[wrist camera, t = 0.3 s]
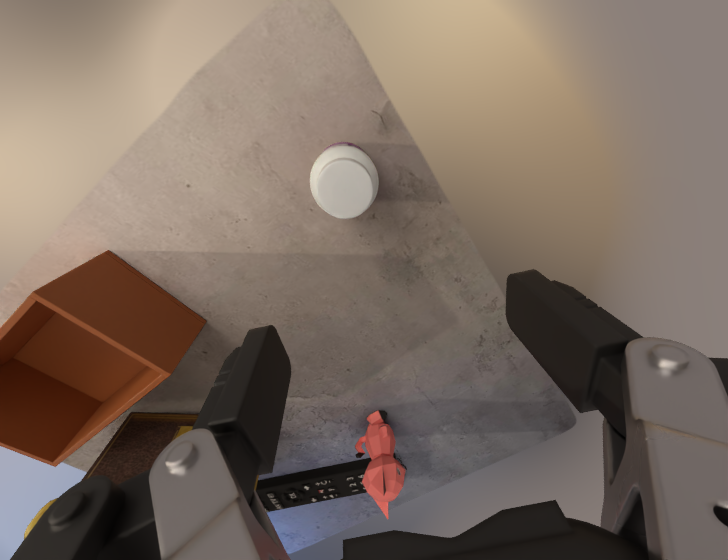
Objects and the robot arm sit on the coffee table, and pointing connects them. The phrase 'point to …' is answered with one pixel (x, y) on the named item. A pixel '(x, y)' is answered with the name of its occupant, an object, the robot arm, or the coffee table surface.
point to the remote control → (313, 485)
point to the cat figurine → (381, 462)
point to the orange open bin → (86, 355)
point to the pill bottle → (344, 180)
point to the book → (135, 448)
